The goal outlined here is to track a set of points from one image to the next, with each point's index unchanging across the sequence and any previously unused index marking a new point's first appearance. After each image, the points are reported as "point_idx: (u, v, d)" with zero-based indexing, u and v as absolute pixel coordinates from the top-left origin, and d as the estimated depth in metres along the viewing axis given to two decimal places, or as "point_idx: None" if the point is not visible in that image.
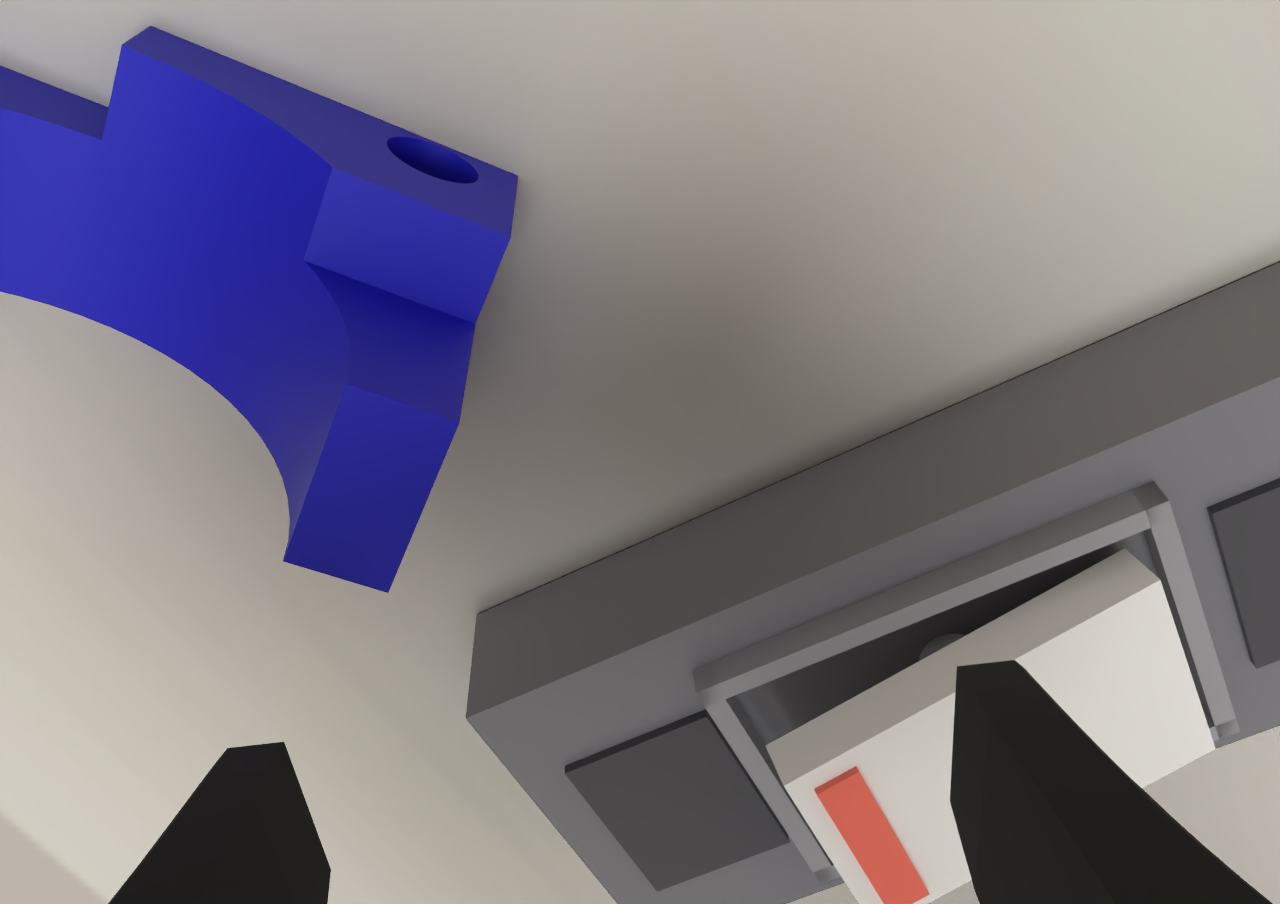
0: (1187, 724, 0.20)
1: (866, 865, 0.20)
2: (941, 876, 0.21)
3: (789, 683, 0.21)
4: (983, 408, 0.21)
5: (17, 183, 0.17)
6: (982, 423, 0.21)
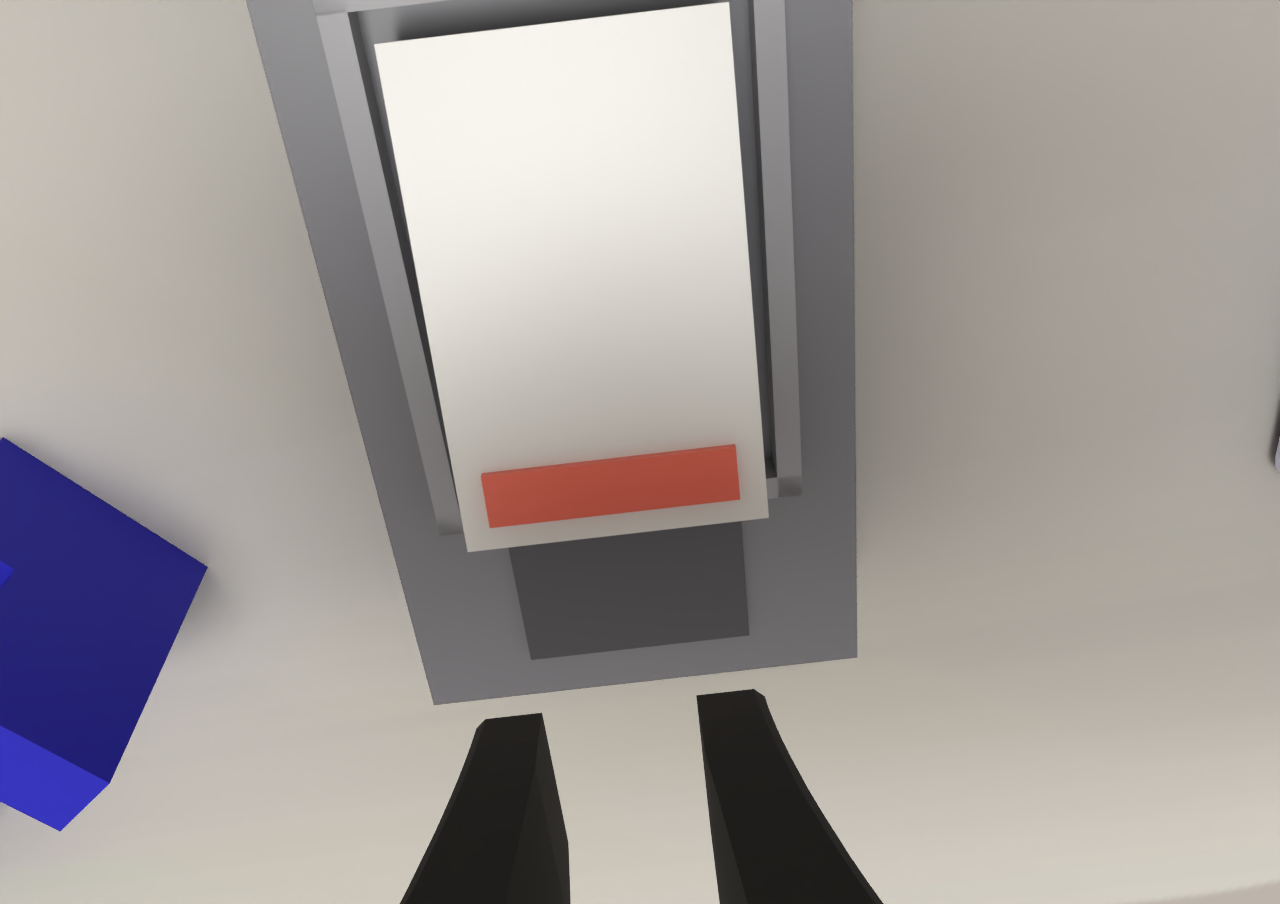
0: (653, 40, 0.14)
1: (635, 505, 0.16)
2: (727, 422, 0.16)
3: None
4: None
5: None
6: None
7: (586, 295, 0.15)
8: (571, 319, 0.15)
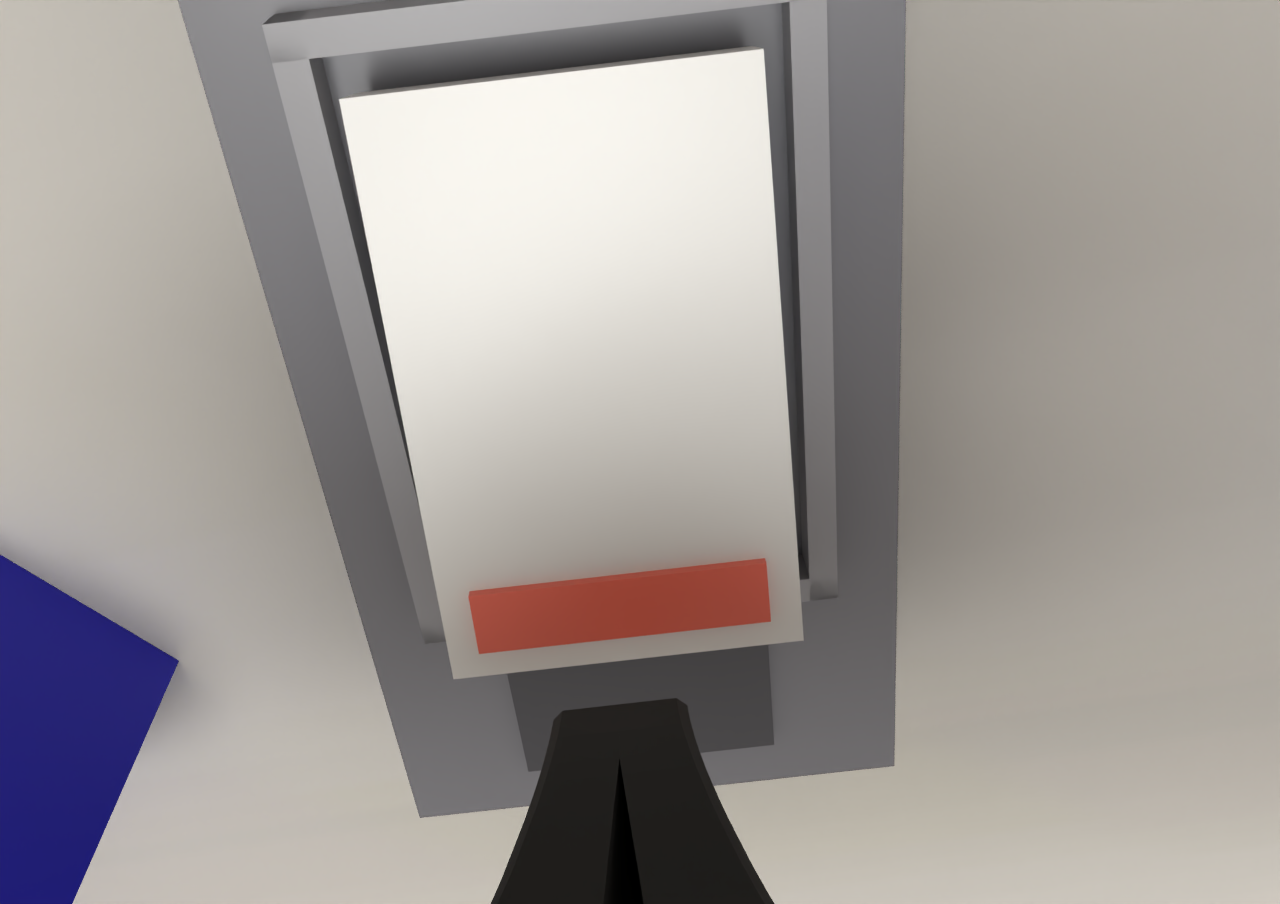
0: (673, 95, 0.12)
1: (649, 628, 0.14)
2: (756, 534, 0.14)
3: None
4: None
5: None
6: None
7: (592, 390, 0.13)
8: (574, 417, 0.13)
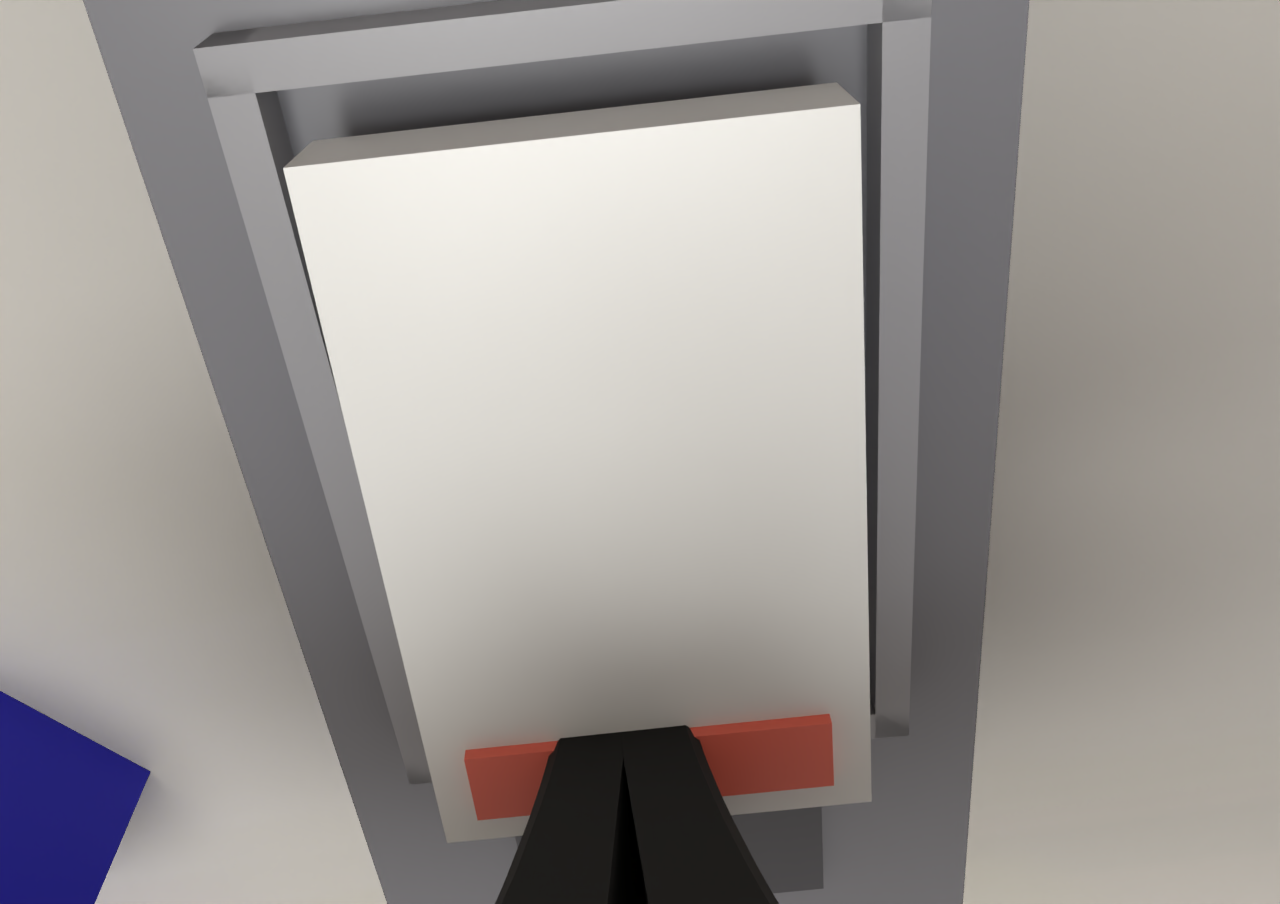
0: (736, 164, 0.09)
1: None
2: (819, 687, 0.11)
3: None
4: None
5: None
6: None
7: (619, 525, 0.10)
8: (596, 557, 0.10)
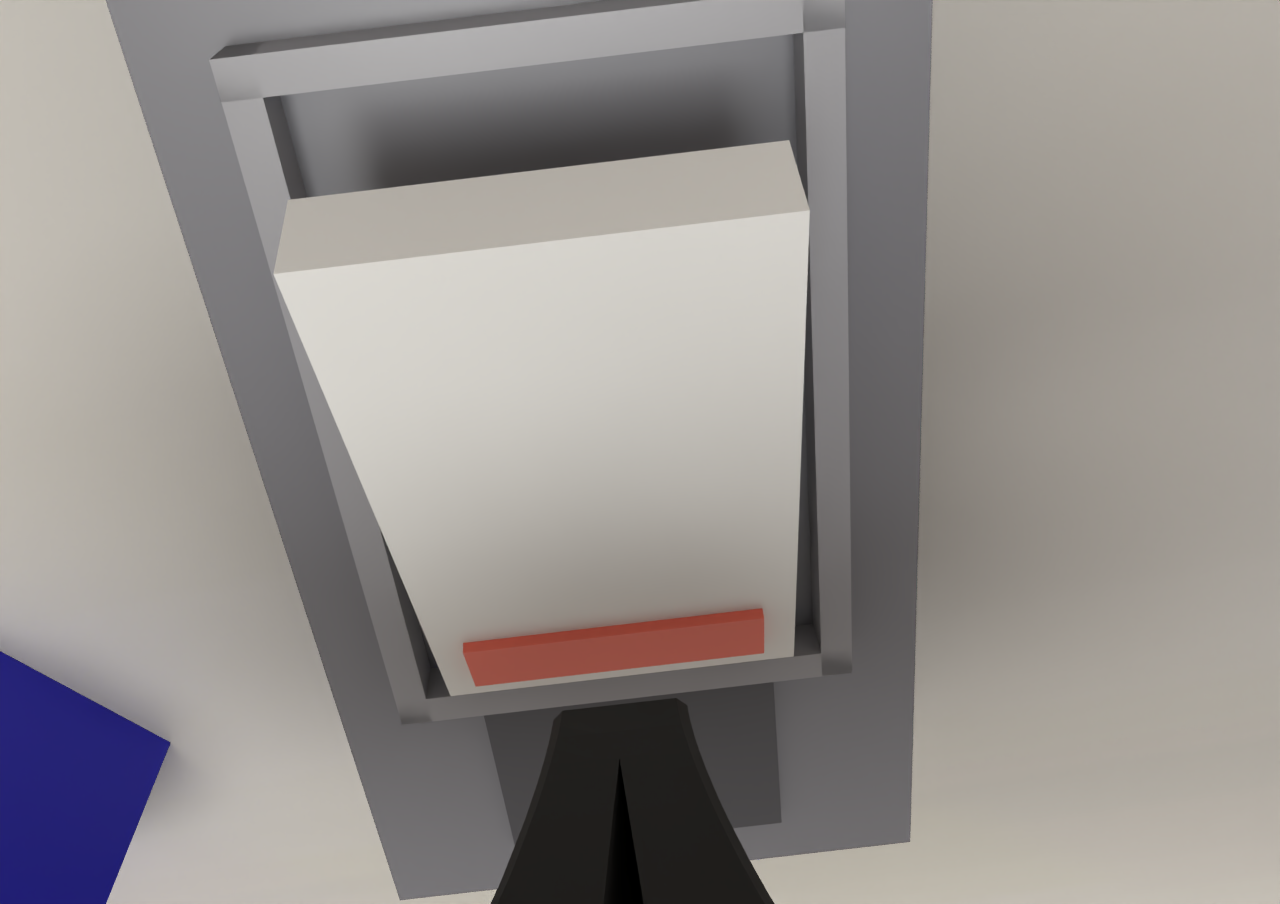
0: (695, 258, 0.10)
1: (644, 663, 0.14)
2: (754, 593, 0.13)
3: None
4: None
5: None
6: None
7: (589, 503, 0.12)
8: (569, 523, 0.12)
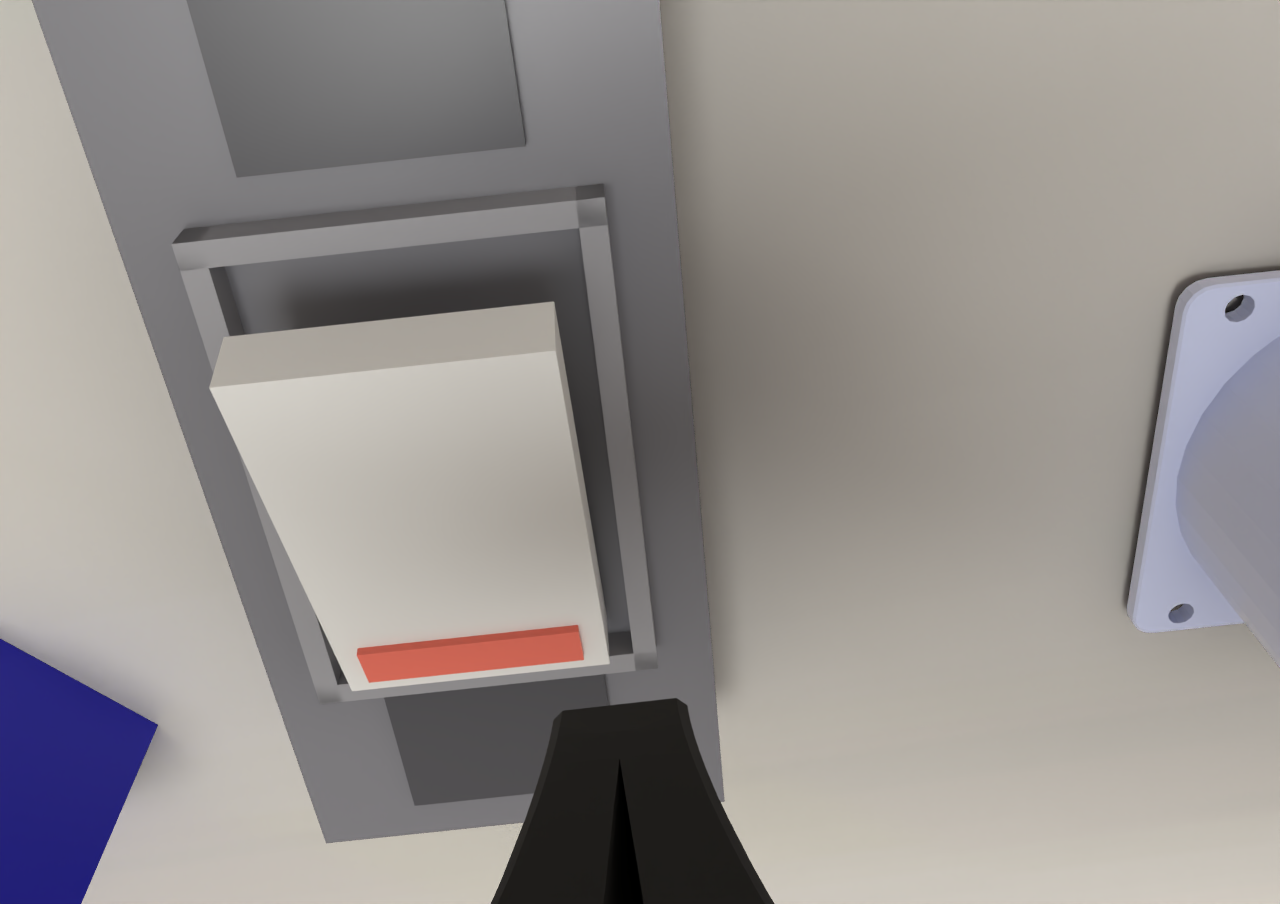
0: (484, 379, 0.15)
1: (493, 665, 0.19)
2: (569, 613, 0.18)
3: None
4: None
5: None
6: None
7: (437, 543, 0.17)
8: (425, 558, 0.17)
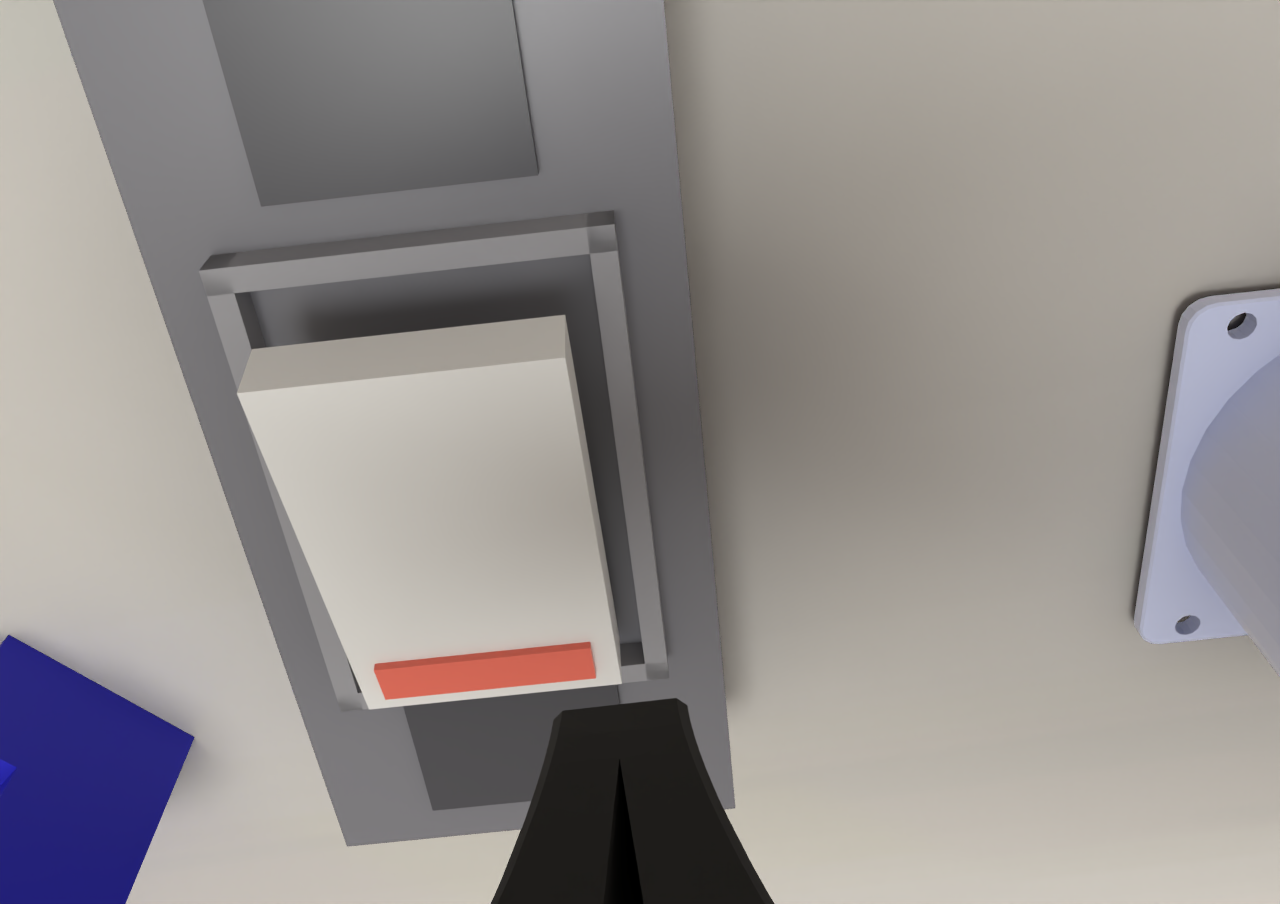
0: (498, 386, 0.15)
1: (507, 683, 0.19)
2: (581, 628, 0.19)
3: None
4: None
5: None
6: None
7: (452, 554, 0.17)
8: (441, 569, 0.18)
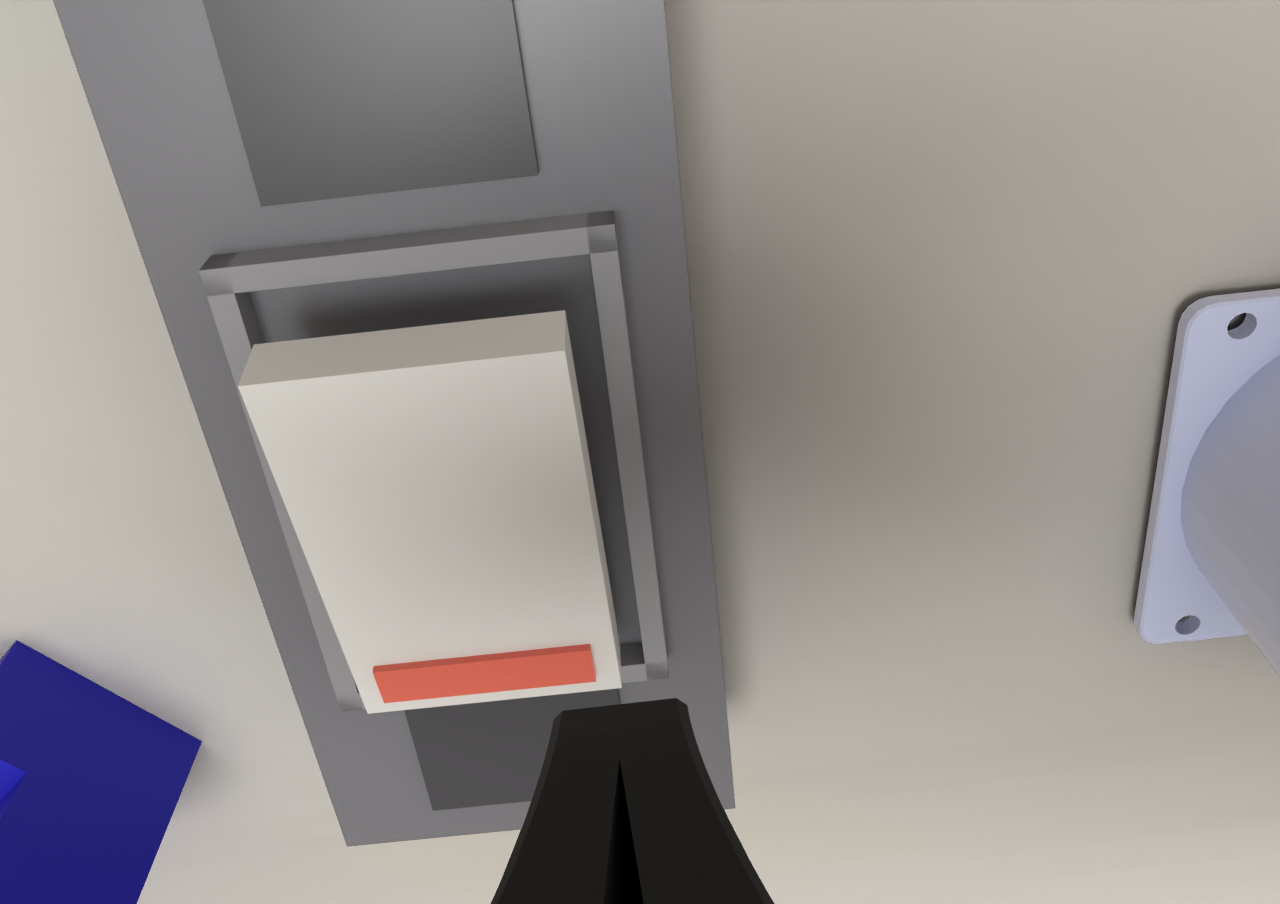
0: (497, 379, 0.15)
1: (507, 686, 0.19)
2: (581, 630, 0.19)
3: None
4: None
5: None
6: None
7: (452, 552, 0.17)
8: (440, 568, 0.18)
